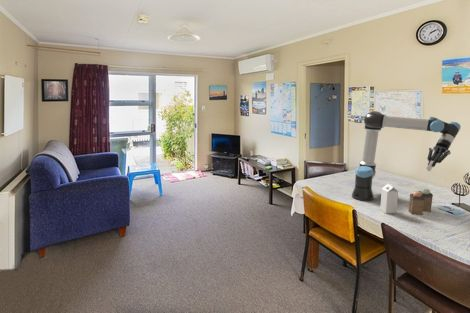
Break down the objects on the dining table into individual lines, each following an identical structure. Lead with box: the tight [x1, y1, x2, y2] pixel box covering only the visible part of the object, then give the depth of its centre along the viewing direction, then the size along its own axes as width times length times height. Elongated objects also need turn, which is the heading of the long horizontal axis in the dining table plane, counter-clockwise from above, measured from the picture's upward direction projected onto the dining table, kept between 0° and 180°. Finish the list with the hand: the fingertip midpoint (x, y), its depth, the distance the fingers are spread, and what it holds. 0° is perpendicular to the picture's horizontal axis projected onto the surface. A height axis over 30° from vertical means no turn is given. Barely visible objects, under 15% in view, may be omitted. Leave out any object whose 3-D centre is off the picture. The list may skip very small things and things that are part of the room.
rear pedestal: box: [417, 190, 434, 213], centre depth 194 cm, size 6×6×12 cm
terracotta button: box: [412, 190, 422, 197], centre depth 188 cm, size 5×5×4 cm
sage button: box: [420, 188, 431, 194], centre depth 193 cm, size 5×5×4 cm
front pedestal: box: [407, 193, 425, 216], centre depth 189 cm, size 6×6×12 cm
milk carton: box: [379, 182, 399, 214], centre depth 192 cm, size 7×7×19 cm
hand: (428, 169), depth 190 cm, fingers closed
